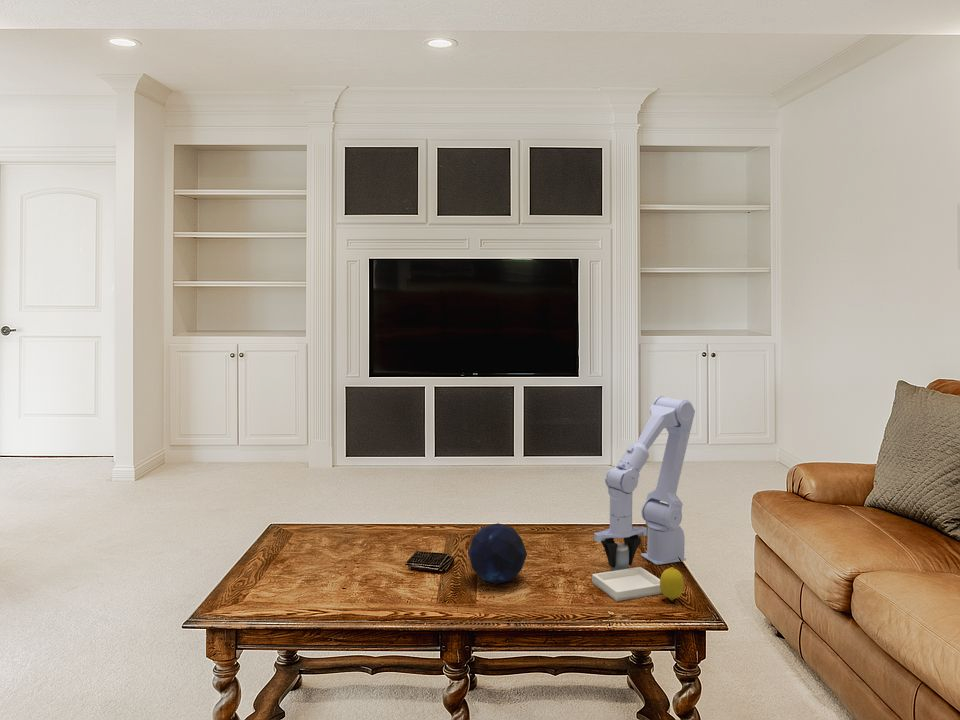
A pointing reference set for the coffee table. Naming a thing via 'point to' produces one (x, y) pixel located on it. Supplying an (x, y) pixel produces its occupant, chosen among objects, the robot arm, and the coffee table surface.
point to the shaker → (622, 557)
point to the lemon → (671, 583)
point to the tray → (627, 583)
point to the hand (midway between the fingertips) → (620, 565)
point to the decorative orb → (497, 553)
